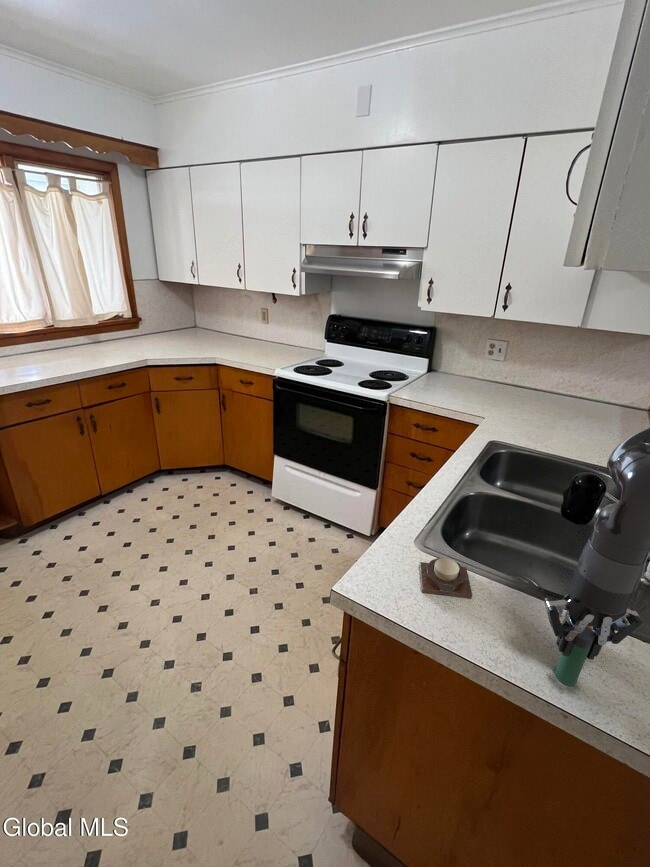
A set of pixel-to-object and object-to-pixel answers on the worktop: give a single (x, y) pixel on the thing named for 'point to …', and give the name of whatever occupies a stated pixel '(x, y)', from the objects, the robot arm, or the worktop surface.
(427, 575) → the tealight candle holder
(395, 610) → the worktop surface
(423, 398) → the worktop surface
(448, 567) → the dot pad
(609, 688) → the worktop surface
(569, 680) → the cylinder
